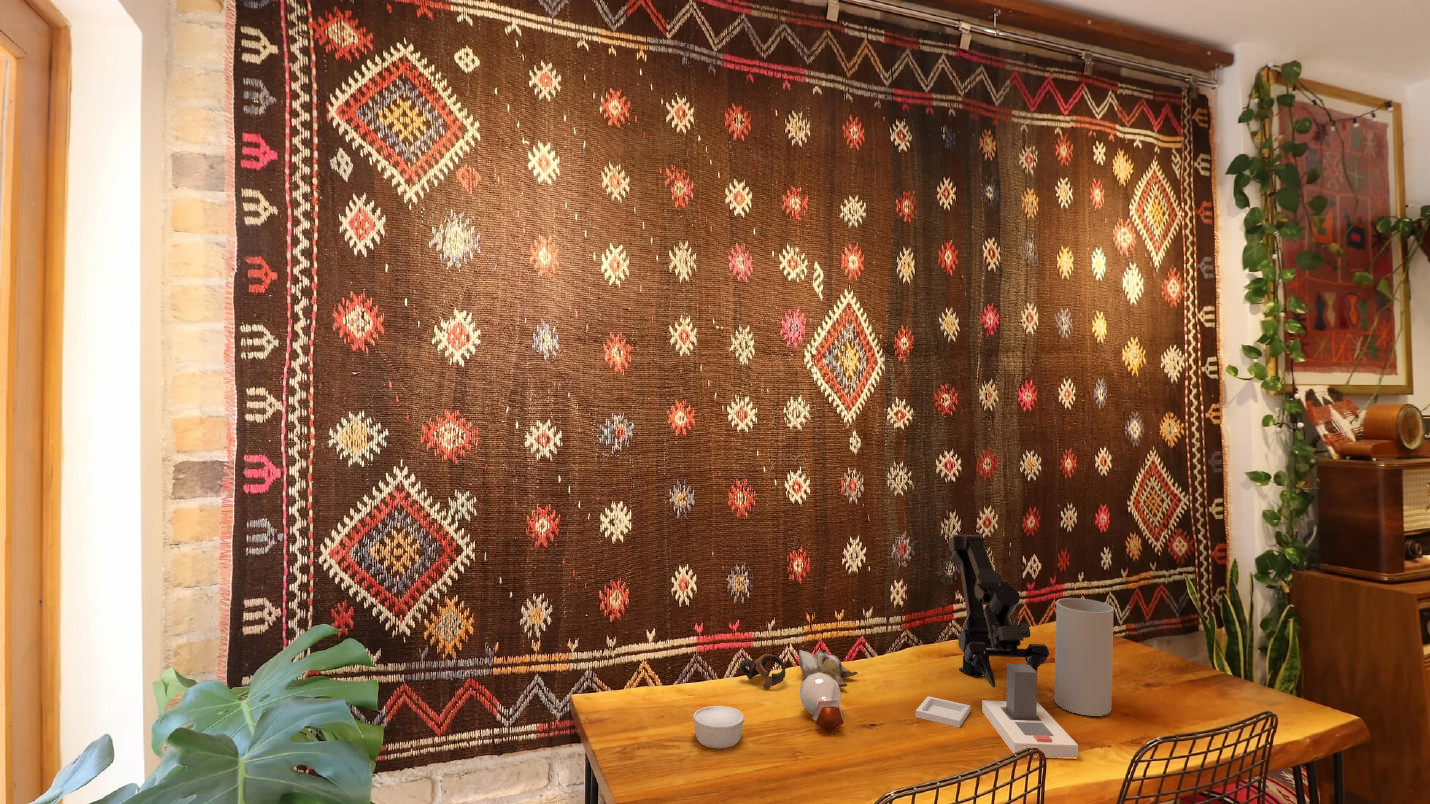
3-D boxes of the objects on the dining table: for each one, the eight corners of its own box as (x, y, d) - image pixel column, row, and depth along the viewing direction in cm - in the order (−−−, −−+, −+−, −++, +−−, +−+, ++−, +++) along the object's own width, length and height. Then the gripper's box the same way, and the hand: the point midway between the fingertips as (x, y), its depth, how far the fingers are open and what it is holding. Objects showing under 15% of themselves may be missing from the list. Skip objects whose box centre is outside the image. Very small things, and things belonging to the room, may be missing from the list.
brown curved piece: (778, 676, 203) (788, 654, 199) (779, 704, 194) (789, 682, 190) (735, 665, 202) (744, 643, 198) (734, 693, 193) (743, 671, 190)
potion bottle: (820, 709, 183) (834, 746, 168) (788, 687, 182) (799, 722, 167) (843, 679, 183) (860, 714, 168) (812, 657, 181) (825, 689, 166)
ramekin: (714, 723, 172) (715, 700, 172) (754, 738, 165) (754, 714, 165) (682, 740, 163) (682, 716, 163) (722, 756, 156) (722, 731, 156)
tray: (927, 704, 184) (927, 696, 184) (969, 713, 179) (970, 705, 179) (915, 718, 176) (915, 710, 176) (959, 729, 170) (959, 720, 170)
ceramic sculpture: (806, 637, 206) (860, 650, 199) (804, 669, 206) (857, 682, 199) (792, 649, 196) (848, 663, 190) (790, 682, 197) (845, 697, 190)
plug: (1006, 719, 175) (1007, 663, 175) (1028, 720, 175) (1029, 664, 175) (1013, 729, 170) (1014, 671, 170) (1036, 729, 170) (1037, 672, 170)
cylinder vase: (1118, 720, 177) (1120, 614, 176) (1061, 715, 179) (1063, 610, 179) (1102, 699, 189) (1104, 600, 189) (1049, 694, 191) (1051, 596, 191)
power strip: (982, 712, 180) (982, 697, 180) (1037, 714, 179) (1037, 699, 179) (1014, 757, 158) (1015, 740, 158) (1078, 759, 157) (1078, 742, 157)
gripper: (968, 608, 182) (981, 671, 171) (1047, 611, 181) (1065, 674, 170) (958, 630, 190) (970, 691, 179) (1034, 632, 189) (1050, 694, 179)
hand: (1014, 687), depth 177 cm, fingers open, 9 cm apart
